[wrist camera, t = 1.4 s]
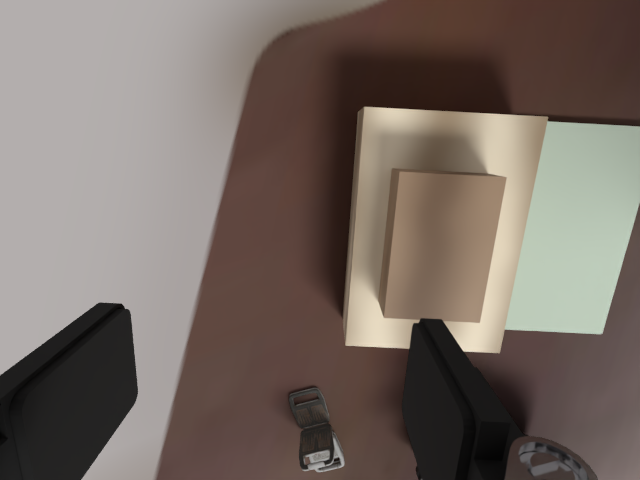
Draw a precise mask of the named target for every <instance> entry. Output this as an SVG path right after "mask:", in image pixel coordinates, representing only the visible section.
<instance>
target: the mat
mask: <svg viewBox="0 0 640 480" xmlns="http://www.w3.org/2000/svg"><path fill="white" fill-rule="evenodd" d="M639 203H640V126H622V125H603V124H585V123H567V122H548V121H547V126H546V131H545V136H544V140H543V145H542V150H541V155H540V160H539V165H538V170H537V174H536V179H535V184H534V189H533V194H532V199H531V204H530V208H529V213H528V218H527V223H526V228H525V233H524V238H523V242H522V247H521V252H520V257H519V262H518V267H517V272H516V276H515V281H514V286H513V291H512V296H511V301H510V305H509V310H508V315H507V320H506V325H505V329H508V330H528V331H548V332H568V333H588V334H602V333H603V329H604V326H605V322H606V319H607V315H608V312H609V308H610V305H611V301H612V298H613V294H614V291H615V287H616V284H617V280H618V277H619V273H620V270H621V266H622V263H623V259H624V256H625V252H626V249H627V245H628V242H629V238H630V235H631V231H632V228H633V224H634V221H635V217H636V214H637V210H638V207H639Z"/></svg>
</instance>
